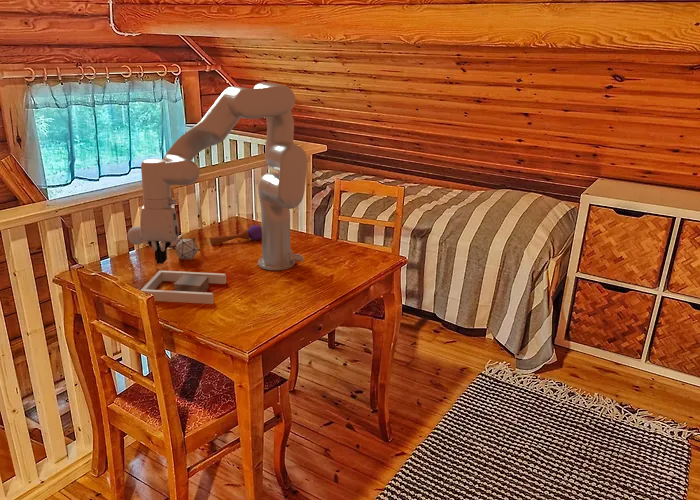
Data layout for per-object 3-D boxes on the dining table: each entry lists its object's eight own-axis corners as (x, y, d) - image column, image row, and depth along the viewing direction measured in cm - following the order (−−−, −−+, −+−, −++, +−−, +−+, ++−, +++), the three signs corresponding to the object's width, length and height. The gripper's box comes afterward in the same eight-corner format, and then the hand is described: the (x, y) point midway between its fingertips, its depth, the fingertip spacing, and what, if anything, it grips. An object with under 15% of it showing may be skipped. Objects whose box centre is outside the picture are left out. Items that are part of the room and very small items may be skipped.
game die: (188, 271, 196) (179, 256, 187) (173, 257, 199) (164, 242, 191) (208, 255, 199) (200, 239, 191) (193, 242, 202) (185, 226, 194)
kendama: (208, 232, 212) (259, 222, 220) (210, 248, 213) (262, 237, 221) (211, 234, 207) (264, 224, 214) (214, 250, 208) (266, 240, 216)
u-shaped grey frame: (226, 282, 179) (225, 273, 178) (212, 303, 165) (212, 294, 164) (160, 279, 180) (159, 270, 179) (140, 300, 166) (139, 290, 165)
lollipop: (127, 269, 186) (122, 226, 181) (144, 265, 190) (139, 222, 185) (137, 275, 182) (132, 231, 177) (153, 270, 187) (149, 227, 181)
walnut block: (208, 288, 176) (208, 276, 174) (200, 298, 169) (199, 285, 168) (183, 286, 176) (183, 274, 175) (174, 296, 170) (173, 283, 168)
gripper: (187, 201, 166) (190, 259, 172) (137, 197, 167) (141, 256, 173) (178, 207, 159) (181, 268, 165) (126, 204, 160) (131, 265, 166)
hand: (161, 262), depth 169 cm, fingers closed
